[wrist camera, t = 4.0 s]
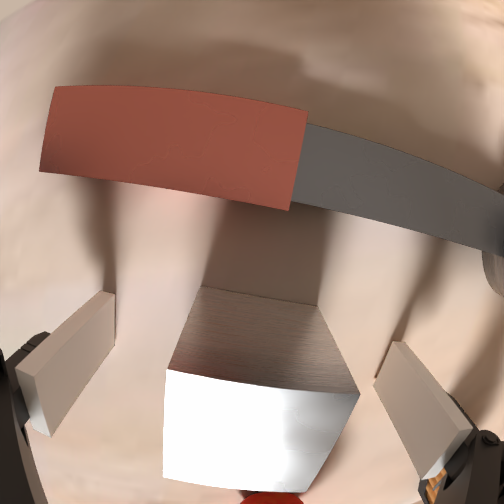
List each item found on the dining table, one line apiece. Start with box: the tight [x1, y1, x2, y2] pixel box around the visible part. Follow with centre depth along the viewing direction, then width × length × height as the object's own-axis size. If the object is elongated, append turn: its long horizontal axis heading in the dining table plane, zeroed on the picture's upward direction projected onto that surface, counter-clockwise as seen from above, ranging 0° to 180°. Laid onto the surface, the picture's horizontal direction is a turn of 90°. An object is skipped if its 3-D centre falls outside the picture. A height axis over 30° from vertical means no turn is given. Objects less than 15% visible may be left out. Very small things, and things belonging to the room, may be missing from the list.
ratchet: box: [39, 85, 504, 297], centre depth 9 cm, size 26×7×6 cm, turn 79°
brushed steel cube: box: [163, 286, 360, 492], centre depth 11 cm, size 5×5×6 cm
